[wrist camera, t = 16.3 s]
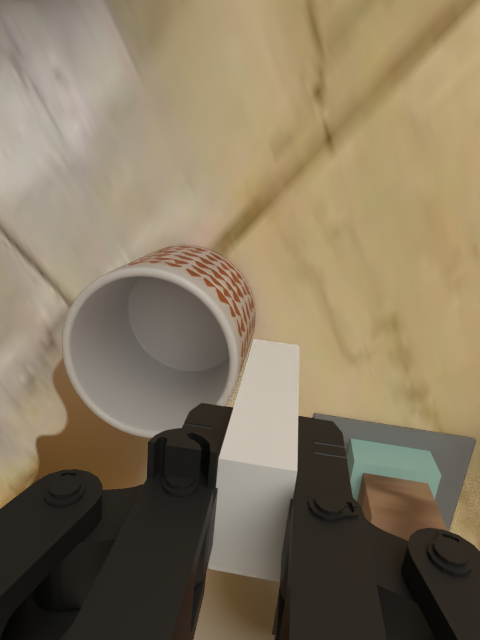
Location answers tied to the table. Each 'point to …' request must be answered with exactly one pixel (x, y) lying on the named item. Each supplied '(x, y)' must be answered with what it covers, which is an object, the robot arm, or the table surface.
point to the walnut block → (398, 505)
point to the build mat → (444, 448)
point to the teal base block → (390, 464)
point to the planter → (159, 338)
